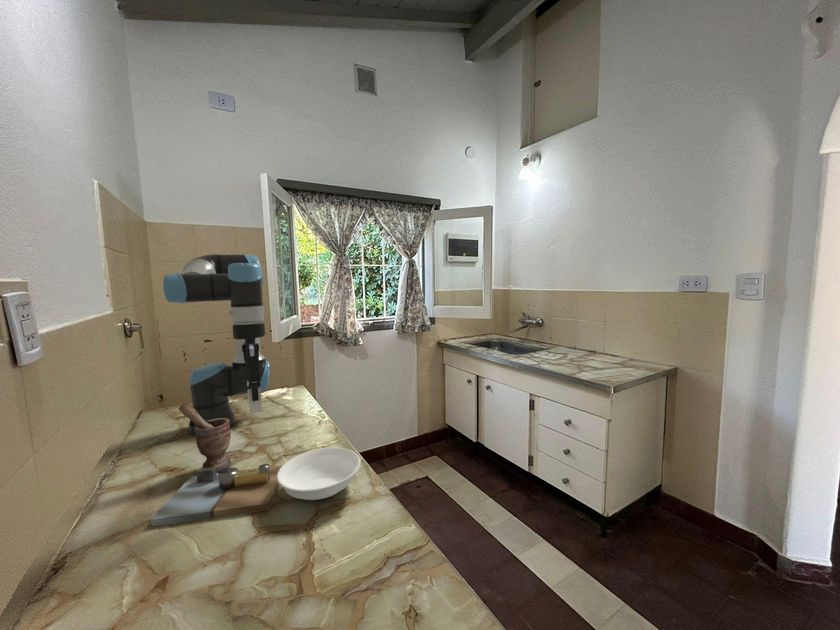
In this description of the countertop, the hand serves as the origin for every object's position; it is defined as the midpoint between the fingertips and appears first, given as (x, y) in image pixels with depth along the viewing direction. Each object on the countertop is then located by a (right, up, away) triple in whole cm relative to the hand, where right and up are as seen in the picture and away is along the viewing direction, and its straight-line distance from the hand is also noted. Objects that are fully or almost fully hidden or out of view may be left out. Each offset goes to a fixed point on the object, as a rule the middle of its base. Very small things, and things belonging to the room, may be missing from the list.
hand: (255, 407), depth 89 cm
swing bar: (0, -18, -5) cm, 18 cm away
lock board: (-4, -20, -6) cm, 21 cm away
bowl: (+20, -19, -6) cm, 28 cm away
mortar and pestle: (-16, -20, +6) cm, 26 cm away
